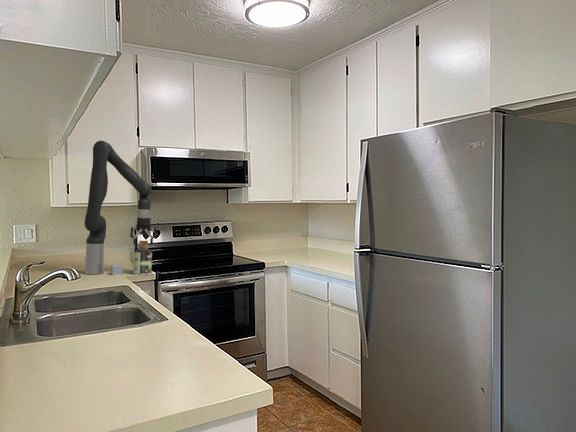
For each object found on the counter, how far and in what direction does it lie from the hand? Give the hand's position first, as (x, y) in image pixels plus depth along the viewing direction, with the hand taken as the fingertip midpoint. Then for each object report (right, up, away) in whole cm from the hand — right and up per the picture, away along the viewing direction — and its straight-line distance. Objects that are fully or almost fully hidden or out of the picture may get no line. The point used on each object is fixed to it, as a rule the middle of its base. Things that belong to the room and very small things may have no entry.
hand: (143, 245), depth 249 cm
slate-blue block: (-14, -16, -4) cm, 22 cm away
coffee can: (-1, -17, 0) cm, 17 cm away
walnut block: (0, -3, 0) cm, 3 cm away
